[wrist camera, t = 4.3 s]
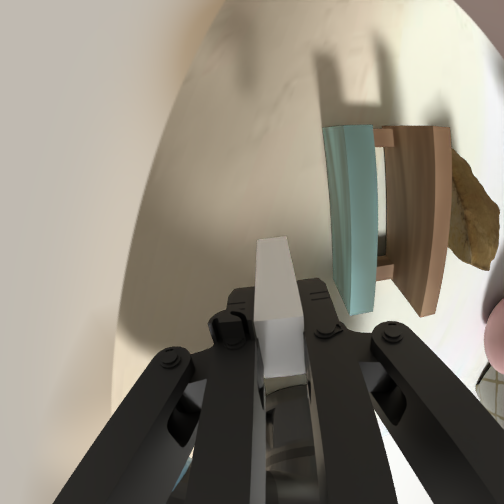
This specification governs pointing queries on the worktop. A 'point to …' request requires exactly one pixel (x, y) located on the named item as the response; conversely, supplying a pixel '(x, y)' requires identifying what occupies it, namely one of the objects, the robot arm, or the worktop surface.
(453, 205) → the rock
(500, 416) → the planter
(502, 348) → the mortar and pestle
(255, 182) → the worktop surface
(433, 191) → the frame
